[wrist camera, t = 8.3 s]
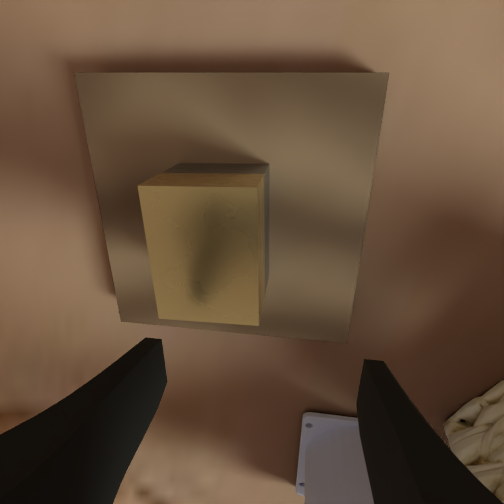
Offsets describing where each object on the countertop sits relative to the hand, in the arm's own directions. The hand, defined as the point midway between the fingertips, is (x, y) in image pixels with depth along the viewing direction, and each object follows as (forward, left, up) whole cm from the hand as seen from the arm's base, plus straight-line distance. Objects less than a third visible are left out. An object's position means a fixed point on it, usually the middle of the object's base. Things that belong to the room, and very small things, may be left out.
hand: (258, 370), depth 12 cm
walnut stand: (+3, +3, -9) cm, 10 cm away
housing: (+3, +3, -7) cm, 8 cm away
